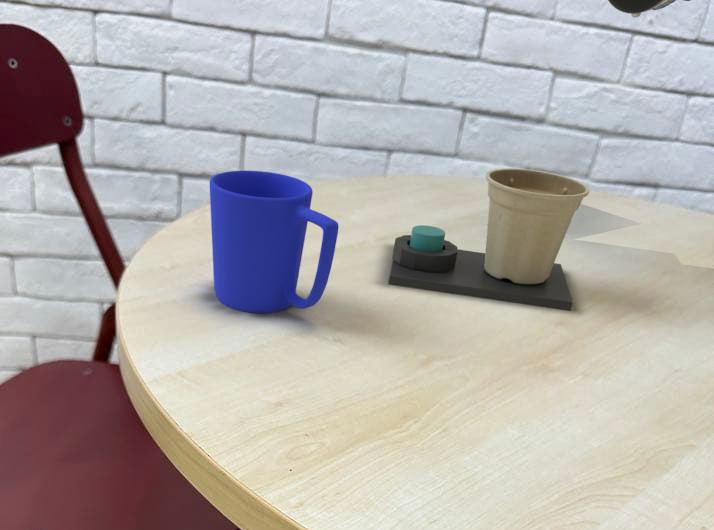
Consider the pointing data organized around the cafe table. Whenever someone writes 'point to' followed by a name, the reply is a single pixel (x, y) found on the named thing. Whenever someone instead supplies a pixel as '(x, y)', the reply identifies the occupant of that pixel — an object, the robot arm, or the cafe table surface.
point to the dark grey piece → (471, 276)
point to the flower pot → (528, 222)
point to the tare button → (427, 238)
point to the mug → (264, 240)
